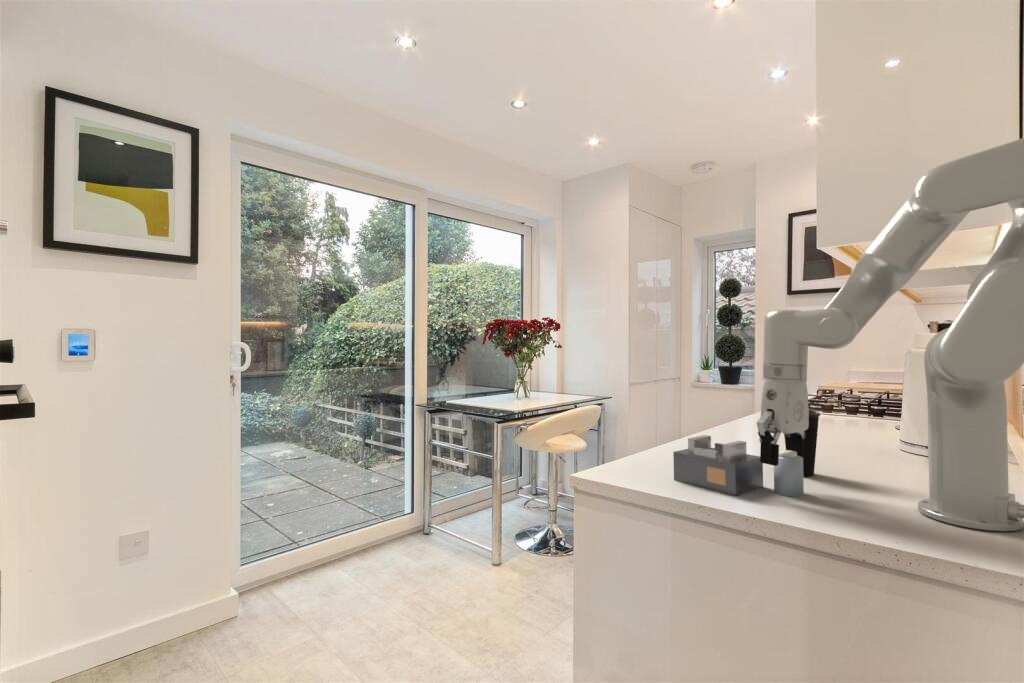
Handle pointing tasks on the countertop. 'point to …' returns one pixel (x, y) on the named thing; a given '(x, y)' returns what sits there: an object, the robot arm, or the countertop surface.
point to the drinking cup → (810, 444)
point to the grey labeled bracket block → (718, 466)
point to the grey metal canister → (789, 474)
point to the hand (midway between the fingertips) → (782, 460)
